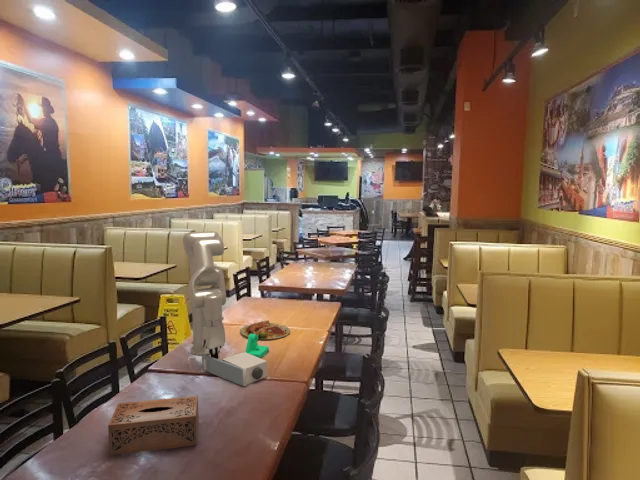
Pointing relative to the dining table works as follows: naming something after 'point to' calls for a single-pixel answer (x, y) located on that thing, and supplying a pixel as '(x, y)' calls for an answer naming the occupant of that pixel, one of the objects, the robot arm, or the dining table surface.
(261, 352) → the camera mount
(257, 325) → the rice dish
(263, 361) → the block
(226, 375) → the side door
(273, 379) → the dining table surface
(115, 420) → the tissue box cover
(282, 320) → the dining table surface
